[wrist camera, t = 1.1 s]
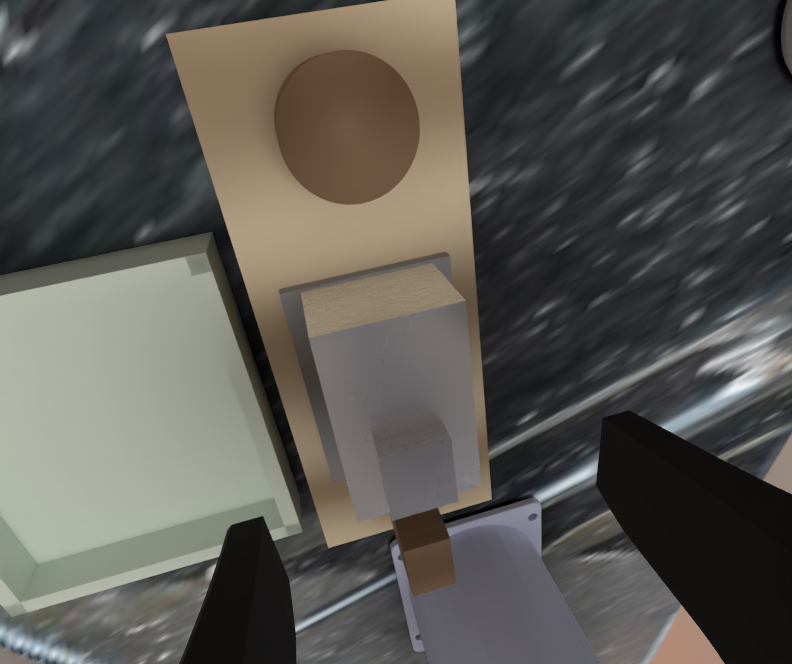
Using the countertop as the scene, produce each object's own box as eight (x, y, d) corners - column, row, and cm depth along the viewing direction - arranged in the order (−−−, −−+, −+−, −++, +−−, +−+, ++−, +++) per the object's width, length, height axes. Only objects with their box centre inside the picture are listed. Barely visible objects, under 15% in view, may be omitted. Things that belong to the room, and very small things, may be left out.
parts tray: (299, 493, 23) (302, 532, 21) (34, 567, 21) (11, 616, 19) (212, 231, 17) (206, 252, 15) (-165, 309, 15) (-226, 343, 13)
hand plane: (466, 453, 24) (527, 566, 18) (320, 494, 23) (339, 625, 17) (421, 4, 15) (511, -34, 10) (183, 40, 14) (134, 22, 9)
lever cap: (450, 427, 18) (491, 505, 15) (343, 456, 18) (362, 543, 15) (431, 261, 15) (477, 313, 12) (300, 291, 15) (311, 354, 11)
